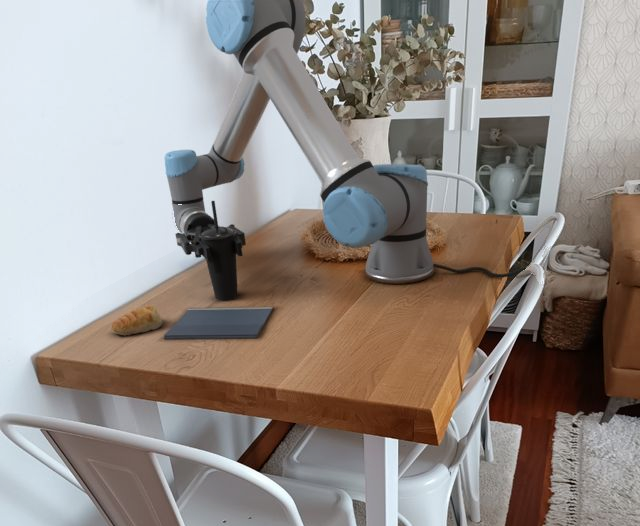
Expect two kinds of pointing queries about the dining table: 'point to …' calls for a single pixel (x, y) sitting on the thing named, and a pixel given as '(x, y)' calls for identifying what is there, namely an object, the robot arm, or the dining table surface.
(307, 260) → the dining table surface
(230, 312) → the dark gray flat panel
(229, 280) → the drinking cup
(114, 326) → the pastry
